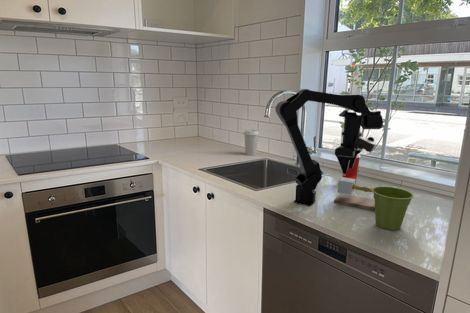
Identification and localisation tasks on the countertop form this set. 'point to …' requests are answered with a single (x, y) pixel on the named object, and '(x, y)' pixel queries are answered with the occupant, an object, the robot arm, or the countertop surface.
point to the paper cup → (353, 170)
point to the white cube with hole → (346, 185)
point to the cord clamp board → (357, 199)
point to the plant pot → (391, 206)
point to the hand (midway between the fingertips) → (347, 170)
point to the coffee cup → (251, 141)
